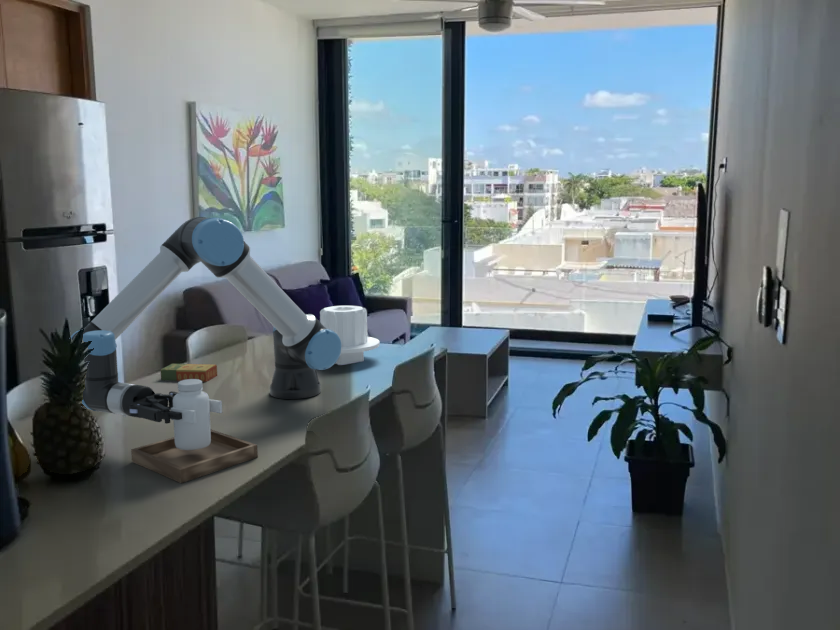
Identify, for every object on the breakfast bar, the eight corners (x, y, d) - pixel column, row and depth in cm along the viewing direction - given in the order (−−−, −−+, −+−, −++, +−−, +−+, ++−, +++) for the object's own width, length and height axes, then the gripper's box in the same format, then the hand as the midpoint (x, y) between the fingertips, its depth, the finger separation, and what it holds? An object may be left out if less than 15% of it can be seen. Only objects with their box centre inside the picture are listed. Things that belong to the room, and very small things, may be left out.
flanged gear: (354, 350, 289) (353, 301, 286) (393, 361, 270) (393, 309, 266) (296, 360, 273) (294, 308, 270) (333, 372, 254) (332, 317, 251)
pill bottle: (198, 452, 169) (194, 387, 166) (167, 449, 171) (163, 384, 169) (218, 441, 176) (215, 378, 174) (189, 438, 179) (185, 376, 176)
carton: (206, 383, 244) (205, 370, 243) (160, 381, 247) (159, 368, 246) (217, 376, 252) (217, 363, 252) (172, 374, 255) (172, 362, 254)
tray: (207, 439, 188) (206, 427, 188) (257, 457, 176) (257, 444, 175) (132, 461, 173) (131, 449, 173) (181, 483, 160) (180, 469, 160)
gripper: (165, 404, 190) (238, 415, 180) (98, 428, 171) (176, 441, 162) (163, 375, 189) (237, 384, 179) (96, 395, 170) (174, 407, 160)
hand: (208, 411), depth 170 cm, fingers closed on pill bottle, 8 cm apart
